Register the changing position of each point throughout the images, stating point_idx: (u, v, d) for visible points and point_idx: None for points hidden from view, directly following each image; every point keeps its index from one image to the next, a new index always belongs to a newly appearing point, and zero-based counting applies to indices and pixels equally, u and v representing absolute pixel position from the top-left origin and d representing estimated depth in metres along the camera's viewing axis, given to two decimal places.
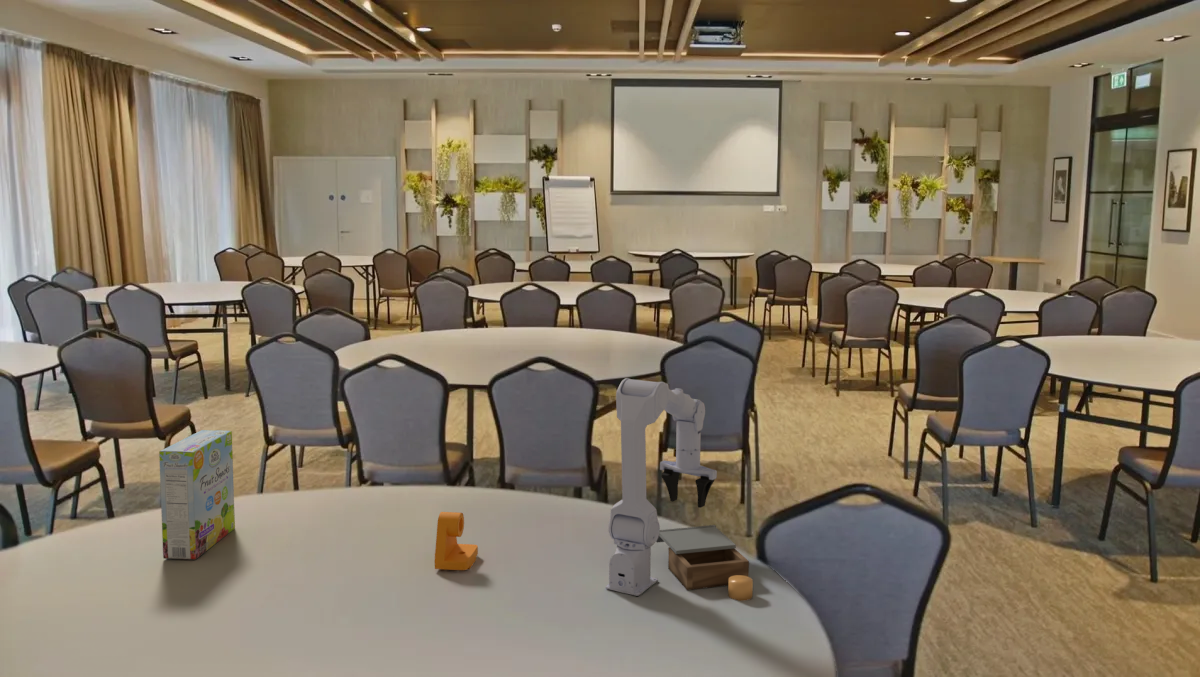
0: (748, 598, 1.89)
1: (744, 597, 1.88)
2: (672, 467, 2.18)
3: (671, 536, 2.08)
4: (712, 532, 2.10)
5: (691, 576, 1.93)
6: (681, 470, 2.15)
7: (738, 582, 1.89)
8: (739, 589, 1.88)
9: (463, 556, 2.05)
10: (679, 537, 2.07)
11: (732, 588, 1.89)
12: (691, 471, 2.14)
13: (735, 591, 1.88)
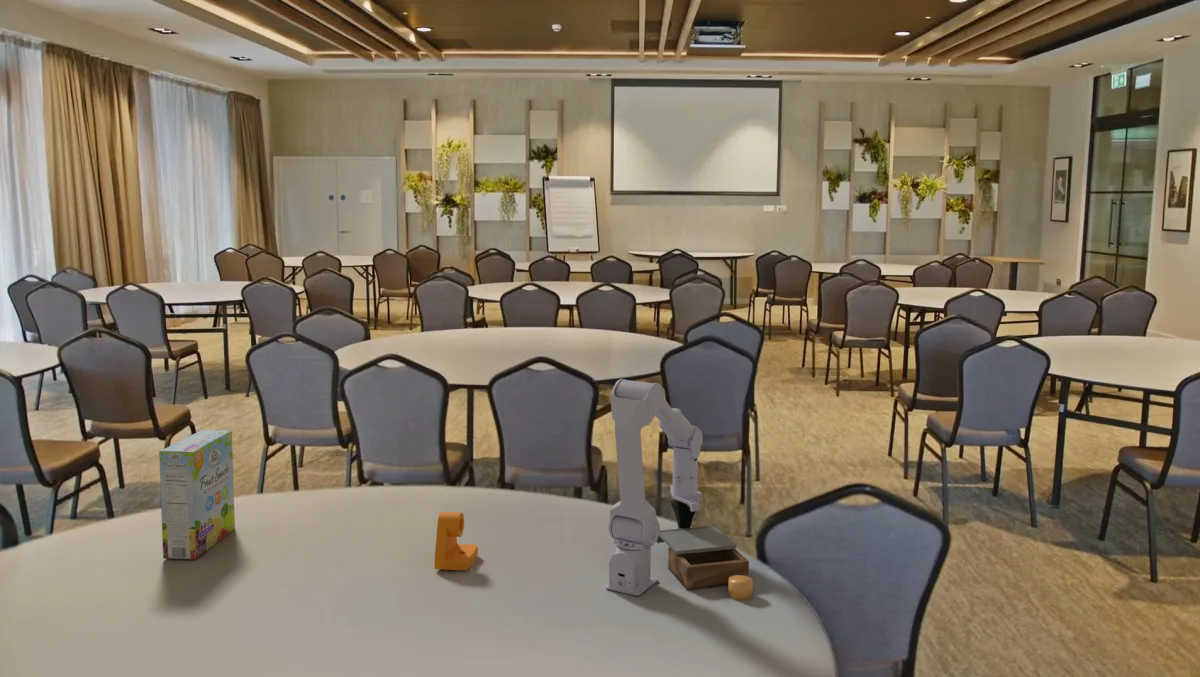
0: (748, 598, 1.89)
1: (744, 597, 1.88)
2: None
3: (671, 536, 2.08)
4: (712, 532, 2.10)
5: (691, 576, 1.93)
6: (672, 496, 2.12)
7: (738, 582, 1.89)
8: (739, 589, 1.88)
9: (463, 556, 2.05)
10: (679, 537, 2.07)
11: (732, 588, 1.89)
12: (678, 499, 2.10)
13: (735, 591, 1.88)
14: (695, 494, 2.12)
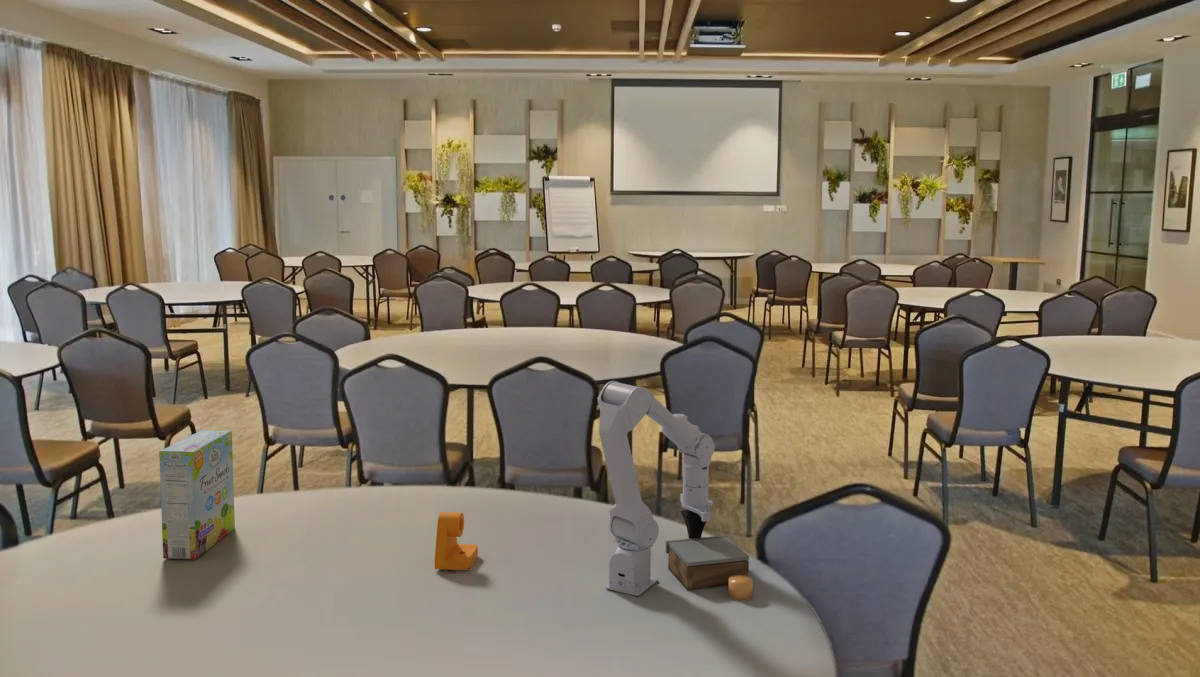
0: (748, 598, 1.89)
1: (744, 597, 1.88)
2: (681, 500, 2.09)
3: (682, 547, 2.01)
4: (724, 543, 2.04)
5: (691, 576, 1.93)
6: (682, 505, 2.06)
7: (738, 582, 1.89)
8: (739, 589, 1.88)
9: (463, 556, 2.05)
10: (690, 548, 2.00)
11: (732, 588, 1.89)
12: (689, 508, 2.04)
13: (735, 591, 1.88)
14: (706, 503, 2.05)
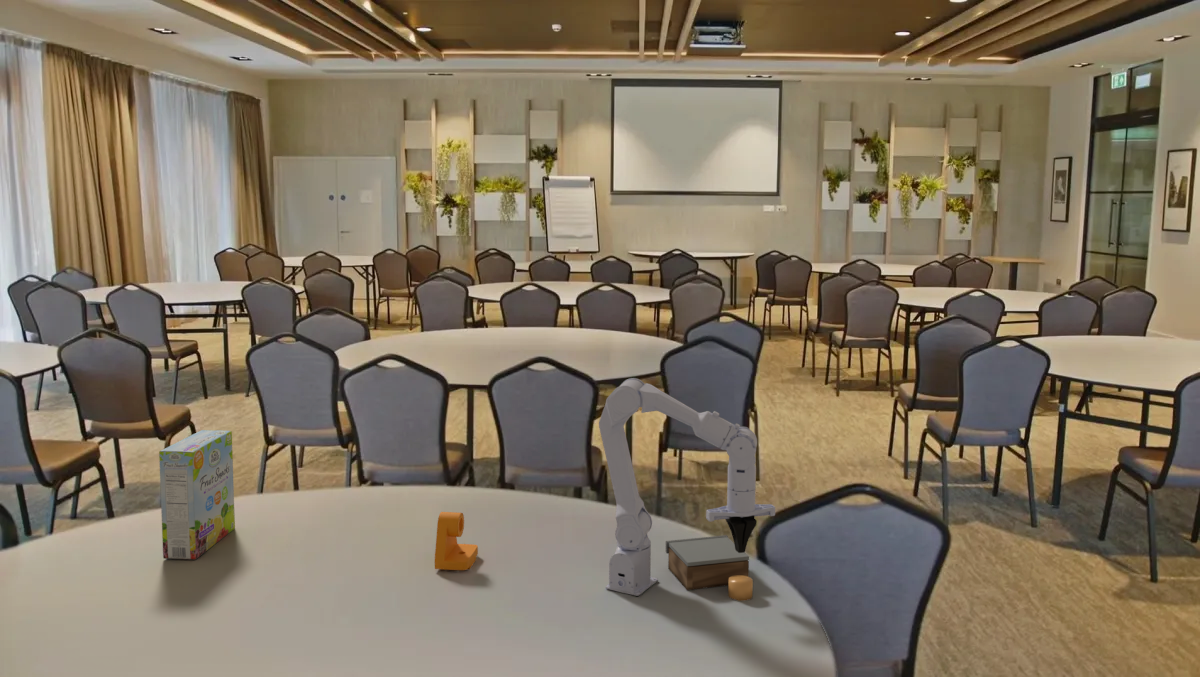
0: (748, 598, 1.89)
1: (744, 597, 1.88)
2: (731, 514, 1.86)
3: (682, 547, 2.01)
4: (724, 543, 2.04)
5: (691, 576, 1.93)
6: (746, 514, 1.86)
7: (738, 582, 1.89)
8: (739, 589, 1.88)
9: (463, 556, 2.05)
10: (690, 548, 2.00)
11: (732, 588, 1.89)
12: (756, 513, 1.87)
13: (735, 591, 1.88)
14: None
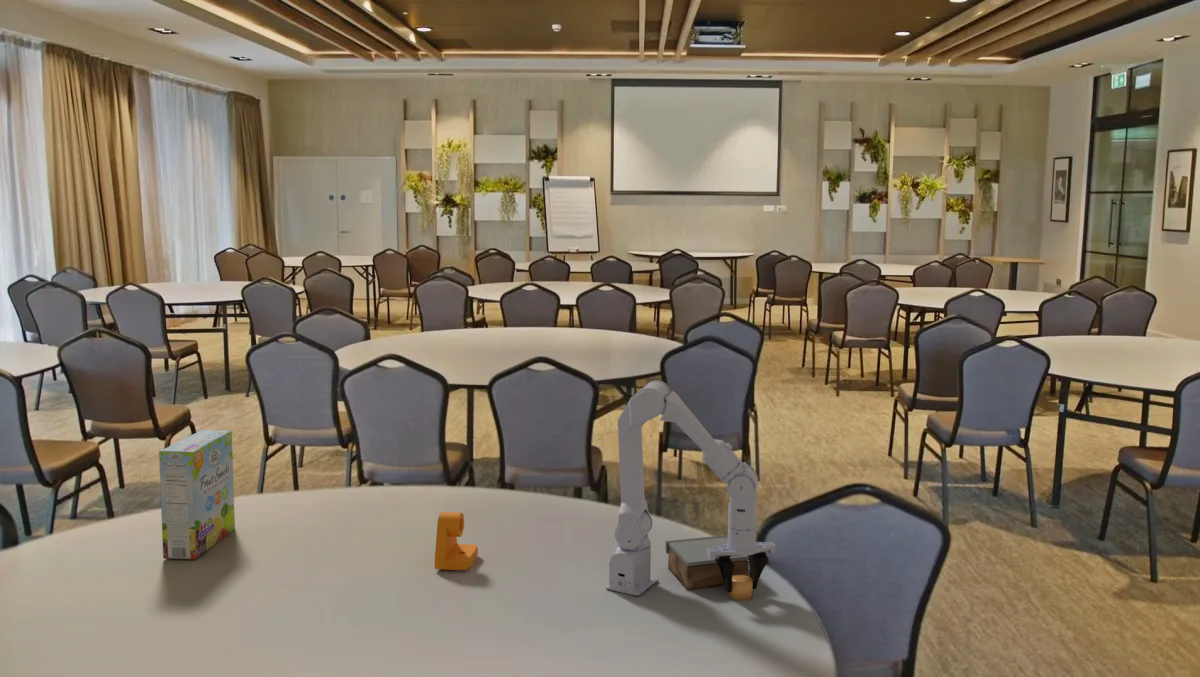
0: (748, 598, 1.89)
1: (744, 596, 1.88)
2: (732, 553, 1.86)
3: (682, 547, 2.01)
4: (724, 543, 2.04)
5: (691, 576, 1.93)
6: (747, 553, 1.86)
7: (738, 581, 1.89)
8: (739, 589, 1.88)
9: (463, 556, 2.05)
10: (690, 548, 2.00)
11: (732, 588, 1.89)
12: (756, 551, 1.88)
13: (735, 591, 1.88)
14: None
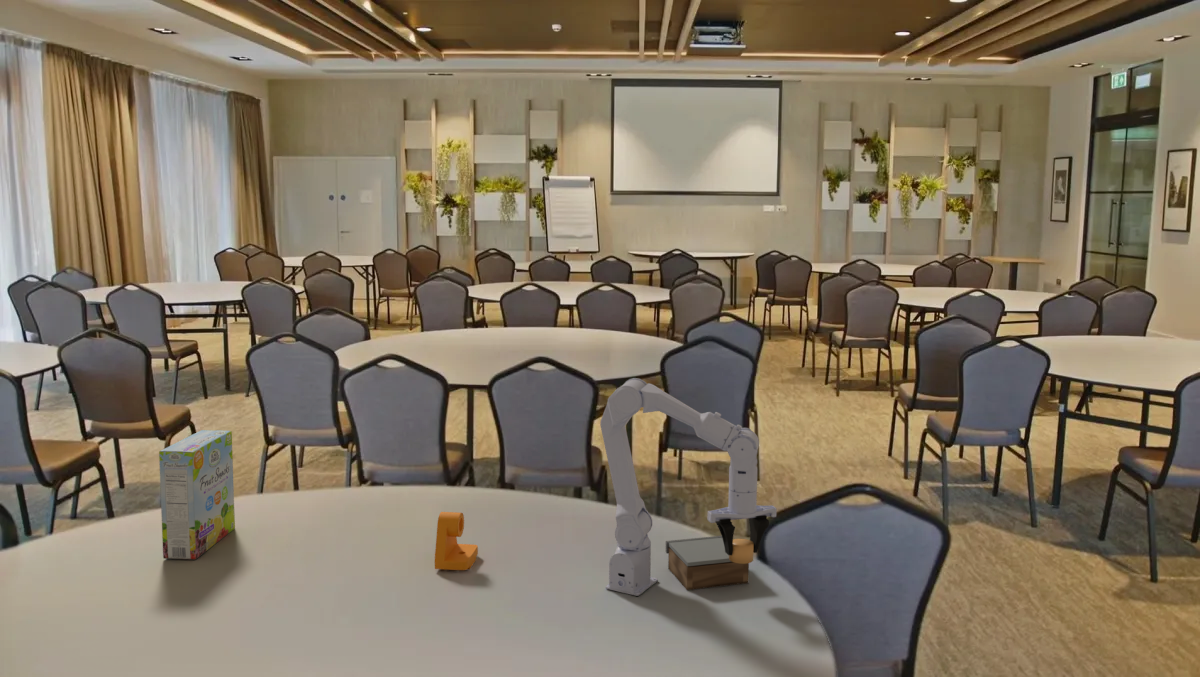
0: (749, 561, 1.87)
1: (745, 560, 1.87)
2: (732, 515, 1.85)
3: (682, 547, 2.01)
4: None
5: (691, 576, 1.93)
6: (748, 515, 1.85)
7: (739, 544, 1.88)
8: (740, 552, 1.87)
9: (463, 556, 2.05)
10: (690, 548, 2.00)
11: None
12: (757, 514, 1.86)
13: (736, 554, 1.87)
14: None
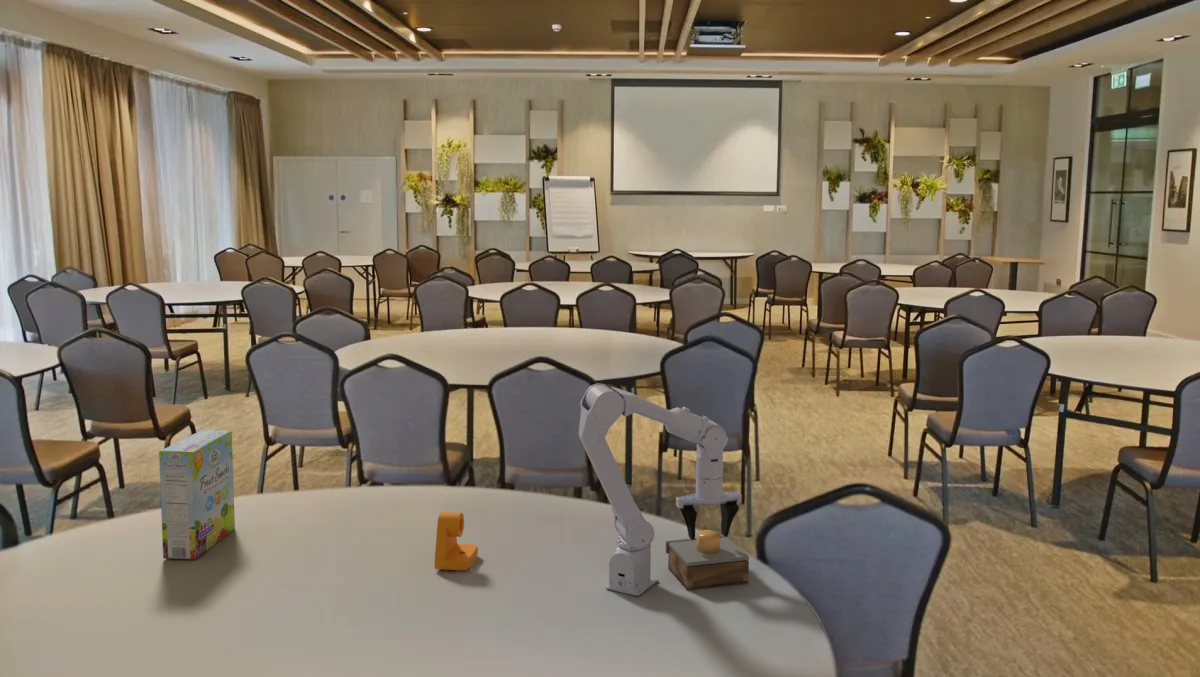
0: (715, 551, 1.98)
1: (712, 550, 1.97)
2: (699, 501, 1.95)
3: (682, 547, 2.01)
4: (724, 543, 2.04)
5: (691, 576, 1.93)
6: (714, 501, 1.95)
7: (706, 535, 1.98)
8: (707, 542, 1.97)
9: (463, 556, 2.05)
10: (690, 548, 2.00)
11: (700, 541, 1.98)
12: (723, 500, 1.97)
13: (703, 544, 1.98)
14: None
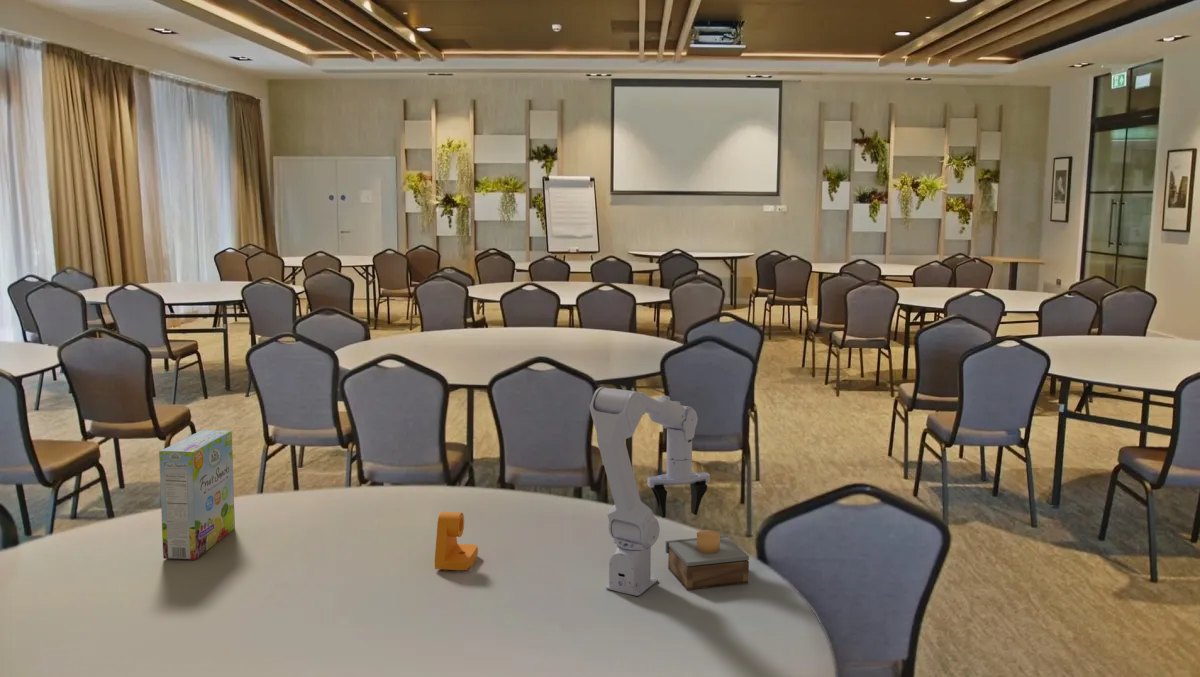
0: (715, 551, 1.98)
1: (711, 550, 1.97)
2: (669, 481, 2.05)
3: (682, 547, 2.01)
4: (724, 543, 2.04)
5: (691, 576, 1.93)
6: (683, 481, 2.05)
7: (706, 535, 1.98)
8: (707, 542, 1.97)
9: (463, 556, 2.05)
10: (690, 548, 2.00)
11: (700, 541, 1.98)
12: (692, 480, 2.07)
13: (703, 544, 1.98)
14: None
